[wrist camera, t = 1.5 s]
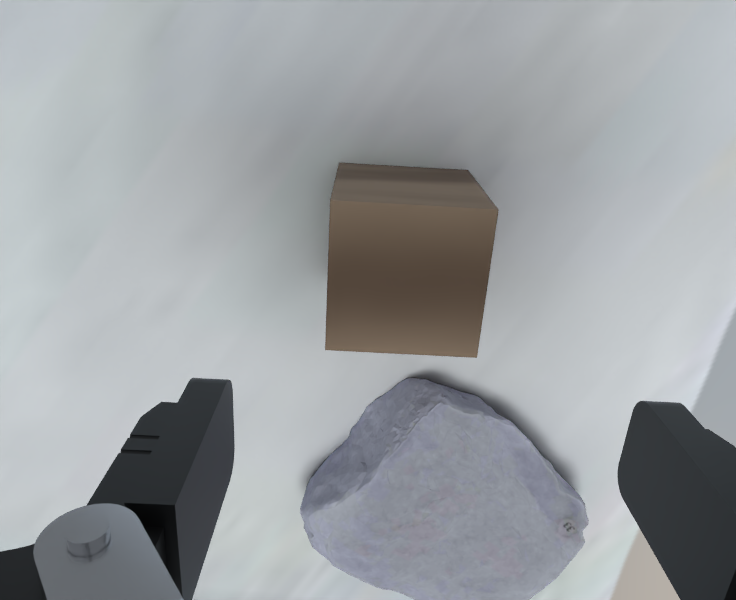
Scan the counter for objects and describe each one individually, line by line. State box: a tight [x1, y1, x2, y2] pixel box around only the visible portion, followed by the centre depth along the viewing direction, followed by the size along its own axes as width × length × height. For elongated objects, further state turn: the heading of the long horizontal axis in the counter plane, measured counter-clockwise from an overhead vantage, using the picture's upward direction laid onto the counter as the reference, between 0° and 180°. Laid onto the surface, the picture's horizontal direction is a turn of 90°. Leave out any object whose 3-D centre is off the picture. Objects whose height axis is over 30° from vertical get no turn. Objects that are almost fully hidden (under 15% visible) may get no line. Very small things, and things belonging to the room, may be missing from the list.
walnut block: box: [325, 163, 498, 358], centre depth 22 cm, size 5×5×6 cm
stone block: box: [300, 378, 589, 600], centre depth 28 cm, size 12×5×10 cm
